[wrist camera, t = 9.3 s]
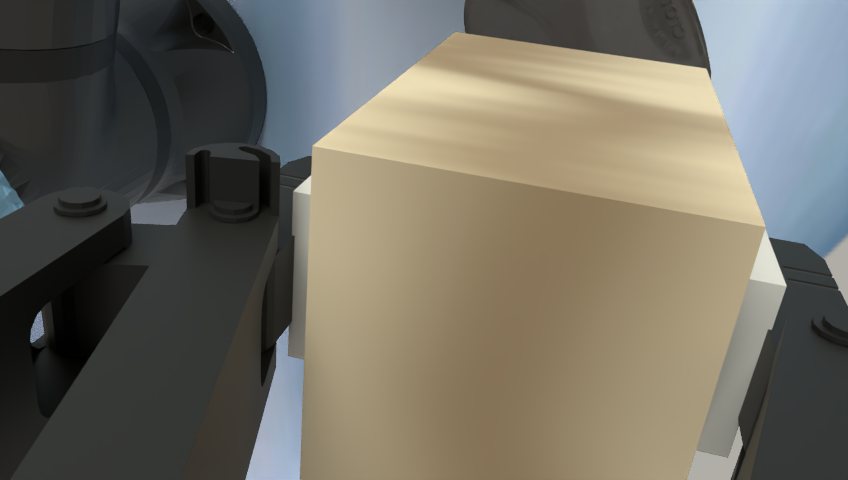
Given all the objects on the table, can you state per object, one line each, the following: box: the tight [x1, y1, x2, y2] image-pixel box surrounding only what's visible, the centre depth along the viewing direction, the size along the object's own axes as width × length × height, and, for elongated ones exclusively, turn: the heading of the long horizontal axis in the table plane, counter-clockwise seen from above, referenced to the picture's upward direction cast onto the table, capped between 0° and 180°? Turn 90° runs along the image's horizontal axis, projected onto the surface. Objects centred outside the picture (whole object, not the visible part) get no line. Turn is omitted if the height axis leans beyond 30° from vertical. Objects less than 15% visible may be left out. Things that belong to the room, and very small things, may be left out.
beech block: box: [300, 32, 766, 480], centre depth 13 cm, size 5×5×8 cm
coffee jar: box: [464, 0, 711, 79], centre depth 35 cm, size 10×8×19 cm
